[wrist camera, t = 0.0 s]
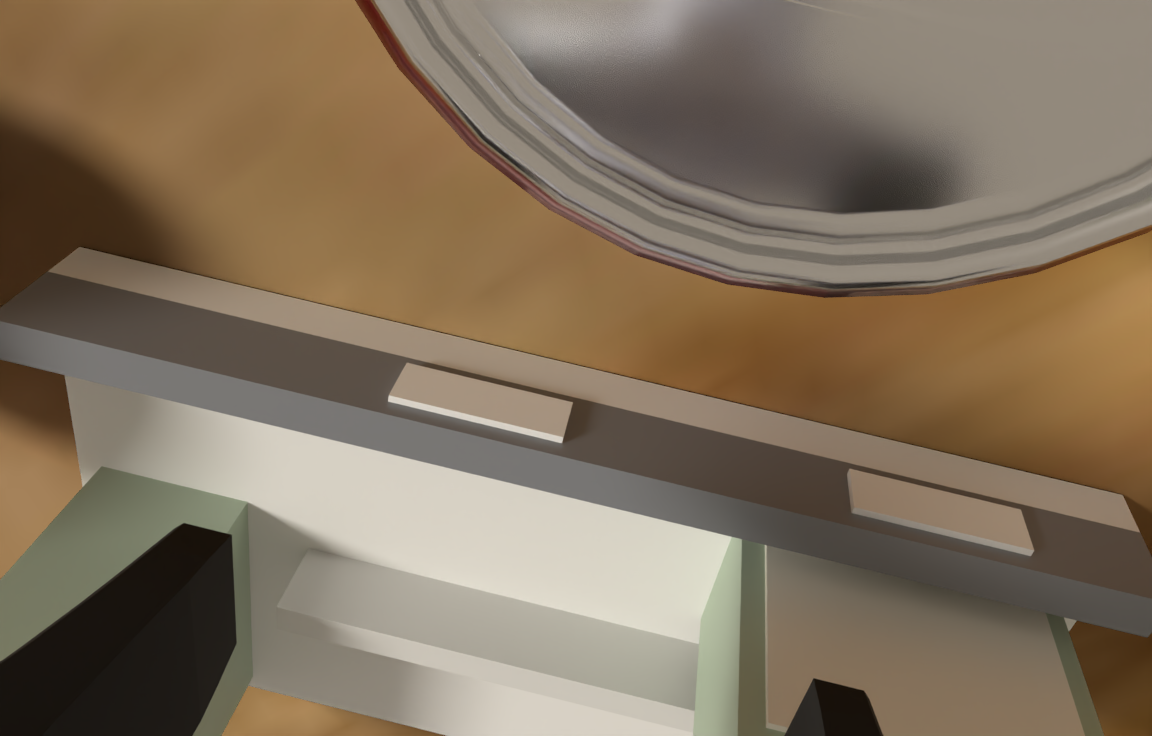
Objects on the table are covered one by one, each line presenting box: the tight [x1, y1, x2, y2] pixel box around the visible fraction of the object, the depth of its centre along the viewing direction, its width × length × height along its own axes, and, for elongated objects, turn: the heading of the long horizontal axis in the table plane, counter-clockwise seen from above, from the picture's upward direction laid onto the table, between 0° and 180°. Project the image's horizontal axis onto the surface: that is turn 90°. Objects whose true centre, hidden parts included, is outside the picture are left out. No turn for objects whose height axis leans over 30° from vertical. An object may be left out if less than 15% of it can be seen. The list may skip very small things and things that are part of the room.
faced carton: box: [693, 537, 1104, 736], centre depth 20 cm, size 7×4×6 cm, turn 80°
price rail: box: [0, 271, 1152, 638], centre depth 20 cm, size 1×24×2 cm, turn 79°
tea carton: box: [0, 466, 253, 736], centre depth 23 cm, size 7×4×6 cm, turn 170°
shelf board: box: [48, 247, 1140, 736], centre depth 24 cm, size 13×24×3 cm, turn 80°
